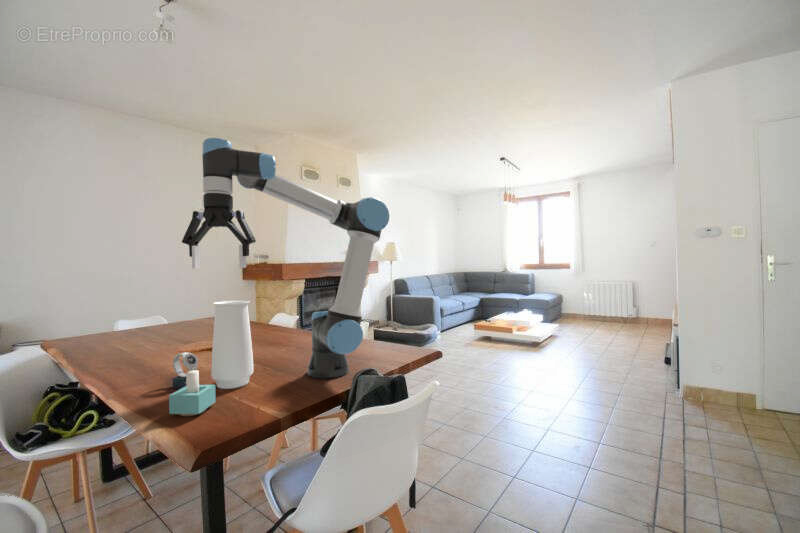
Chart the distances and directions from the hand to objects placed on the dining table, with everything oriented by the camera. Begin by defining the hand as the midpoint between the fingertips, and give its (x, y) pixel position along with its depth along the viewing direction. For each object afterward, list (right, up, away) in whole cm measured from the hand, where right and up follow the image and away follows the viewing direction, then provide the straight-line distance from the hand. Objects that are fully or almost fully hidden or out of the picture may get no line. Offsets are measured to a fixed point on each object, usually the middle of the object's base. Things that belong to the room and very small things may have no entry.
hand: (219, 268), depth 100 cm
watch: (-21, -40, +18) cm, 49 cm away
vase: (-5, -40, +18) cm, 44 cm away
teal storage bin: (-5, -39, -4) cm, 39 cm away
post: (-6, -40, -4) cm, 40 cm away
